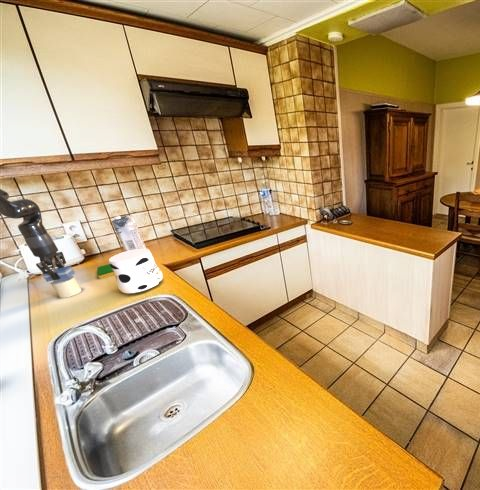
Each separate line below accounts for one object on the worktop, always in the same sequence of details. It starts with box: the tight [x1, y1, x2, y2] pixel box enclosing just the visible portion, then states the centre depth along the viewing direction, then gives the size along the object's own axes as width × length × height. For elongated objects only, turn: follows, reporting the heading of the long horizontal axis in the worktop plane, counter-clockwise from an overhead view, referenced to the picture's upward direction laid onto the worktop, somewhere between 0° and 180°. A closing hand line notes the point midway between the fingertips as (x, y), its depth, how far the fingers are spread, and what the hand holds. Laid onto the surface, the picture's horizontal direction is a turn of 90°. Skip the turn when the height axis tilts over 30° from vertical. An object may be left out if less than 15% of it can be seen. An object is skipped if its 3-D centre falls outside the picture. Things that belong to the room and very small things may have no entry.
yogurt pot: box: [50, 275, 82, 299], centre depth 128 cm, size 8×8×8 cm
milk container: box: [108, 247, 164, 295], centre depth 128 cm, size 17×17×18 cm
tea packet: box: [42, 265, 76, 283], centre depth 125 cm, size 8×5×4 cm, turn 112°
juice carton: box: [111, 215, 147, 252], centre depth 162 cm, size 9×10×27 cm
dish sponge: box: [96, 263, 115, 280], centre depth 148 cm, size 7×14×2 cm, turn 44°
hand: (60, 276), depth 126 cm, fingers closed on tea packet, 5 cm apart
